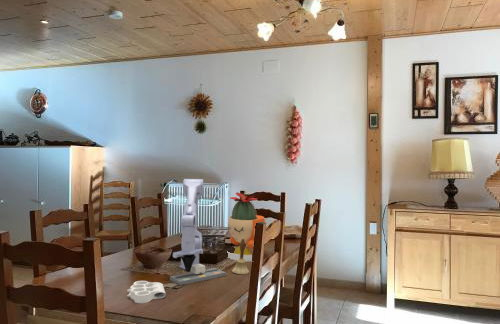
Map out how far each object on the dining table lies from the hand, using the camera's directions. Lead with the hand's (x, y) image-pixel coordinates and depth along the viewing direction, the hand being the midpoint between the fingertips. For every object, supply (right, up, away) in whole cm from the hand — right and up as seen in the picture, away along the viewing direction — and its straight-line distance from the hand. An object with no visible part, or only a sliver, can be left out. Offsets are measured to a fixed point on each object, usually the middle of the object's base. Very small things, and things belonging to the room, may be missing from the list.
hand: (187, 271), depth 185 cm
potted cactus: (+26, -3, +43) cm, 51 cm away
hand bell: (+23, -4, +13) cm, 27 cm away
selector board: (+4, -4, +2) cm, 6 cm away
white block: (+5, -1, +2) cm, 5 cm away
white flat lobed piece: (-14, -4, -21) cm, 25 cm away
